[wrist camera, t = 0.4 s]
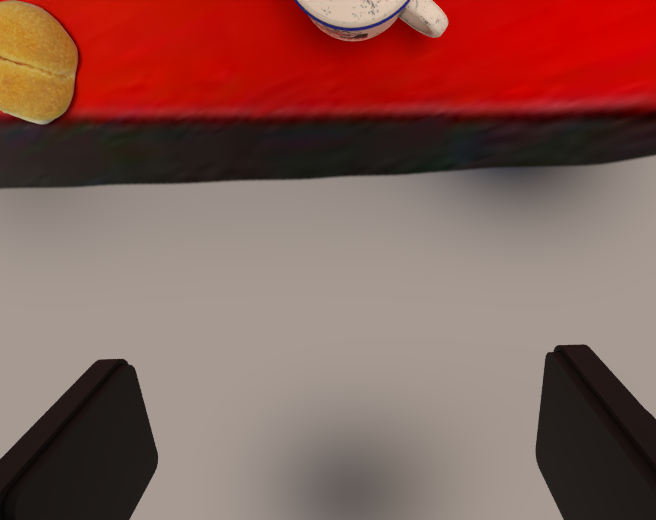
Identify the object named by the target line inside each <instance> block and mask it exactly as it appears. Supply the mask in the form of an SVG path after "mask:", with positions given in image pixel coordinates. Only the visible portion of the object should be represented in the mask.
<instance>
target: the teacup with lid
mask: <svg viewBox="0 0 656 520" xmlns="http://www.w3.org/2000/svg"><path fill="white" fill-rule="evenodd" d="M294 1H295V2H296V3H297V5H298V6H299V7H300V8H301V9H302V10H303V11H304V12H305V13H306V14H307V15H308V16H309V17H310V19H311V20H312V21H313V23H314V24H315V25H316V26H317V27H318V28H319V29H321V30H322V31H323V32H325V33H326V34H328V35H330V36H331V37H334V38H336V39H340V40H344V41H362V40H367V39H370V38H372V37H375V36H377V35H379V34H380V33H382V32H384V31H385V30H386V29H387V28H389V27H390V26H391V25H392V24H393V23H394V22H395V20H396V19H397V18H398V17H399V18H400V19H401V20H403V21H404V22H405V23H407V24H408V25H409V26H411V27H412V28H414V29H415V30H417V31H418V32H420V33H422V34H424V35H426V36H429V37H434V38H436V37H439V36H441V35H442V34H443V32H444V31H445V29H446V28H447V26H448V19H447V17H446V15H445V13H444V12H443V11H442V10H441V8H440V7H439V6H438V5H437V4H436V3H435V2H434V1H432V0H294Z"/></svg>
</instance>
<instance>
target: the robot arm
mask: <svg viewBox="0 0 656 520" xmlns="http://www.w3.org/2000/svg"><path fill="white" fill-rule="evenodd" d="M536 459H537V463H538V466H539V469H540V471H541V473H542V475H543V477H544V479H545V481H546V484H547V485H548V488H549V490H550V492H551V494H552V496H553V498H554V500H555V502H556V504H557V506H558V509H559V511H560V513H561V515H562V517H563V519H564V520H656V419H655V418H654V417H653V416H652V415H651V414H650V413H649V412H648V411H647V410H646V409H644V407H643V406H642V405H641V404H640V403H639V402H638V401H637V400H636V398H635V397H634V396H633V395H632V394H631V393H630V392H629V391H628V390H627V389H626V387H625V386H624V385H623V384H622V383H621V382H620V381H619V380H618V378H616V376H615V375H614V374H613V373H612V372H611V371H610V370H609V369H608V367H607V366H606V365H605V364H604V363H603V362H602V361H601V360H600V359H599V357H598V356H597V355H596V354H595V353H594V352H593V351H592V350H591V349H590V347H588V346H587V345H558V346H556V347H555V349H554V352H549V353H547V355H546V359H545V367H544V376H543V386H542V395H541V405H540V413H539V422H538V432H537V441H536ZM157 464H158V453H157V449H156V446H155V442H154V438H153V435H152V430H151V427H150V423H149V419H148V415H147V412H146V408H145V404H144V401H143V397H142V393H141V389H140V385H139V382H138V378H137V374H136V371H135V368H134V367H133V366H132V365H129V364H128V363H127V361H126V360H124V359H105V360H98V361H96V362H95V363H94V364H93V365H92V366H91V367H90V368H89V369H88V370H87V371H86V372H85V373H84V374H83V375H82V376H81V377H80V378H79V379H78V380H77V381H76V382H75V383H74V384H73V385H72V386H71V387H70V388H69V389H68V390H67V391H66V392H65V393H64V394H63V395H62V396H61V397H60V399H59V400H58V401H57V402H56V403H55V404H54V405H53V406H52V407H51V408H50V409H49V410H48V411H47V412H46V413H45V414H44V415H43V416H42V417H41V418H40V419H39V420H38V421H37V422H36V423H35V424H34V425H33V426H32V427H31V428H30V429H29V430H28V431H27V432H26V433H25V434H24V435H23V436H22V437H21V439H20V440H19V441H18V442H17V443H16V444H15V445H14V446H13V447H12V448H11V449H10V450H9V451H8V452H7V453H6V454H5V455H4V456H3V457H2V458H1V459H0V520H129V519H130V517H131V515H132V514H133V512H134V510H135V508H136V506H137V504H138V502H139V501H140V499H141V497H142V495H143V493H144V491H145V489H146V488H147V486H148V484H149V482H150V480H151V478H152V476H153V474H154V473H155V470H156V468H157Z"/></svg>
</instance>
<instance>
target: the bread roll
mask: <svg viewBox="0 0 656 520" xmlns="http://www.w3.org/2000/svg"><path fill="white" fill-rule="evenodd" d="M77 64H78V50H77V47H76V45H75V43H74V42H73V40H72V39H71V37H70V36H69V35H68V33H67V32H66V31H65V29H64V28H63V27H62V26H61V24H60V23H59V22H58V21H57V20H56V19H55V18H54V17H53V16H51V15H50V14H49V13H48V12H46V11H45V10H44V9H42V8H40V7H38V6H35V5H33V4H30V3H26V2H21V1H16V0H10V1H3V2H0V110H1V111H3V112H4V113H8V114H10V115H13V116H16V117H19V118H21V119H24V120H27V121H30V122H34V123H37V124H48V123H50V122H51V121H53V120H54V119H56V118H58V117H59V116H61V115H62V114H63V113H64V112H65V111H66V110H67V109H68V107H69V105H70V103H71V100H72V97H73V94H74V83H75V73H76V69H77Z"/></svg>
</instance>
